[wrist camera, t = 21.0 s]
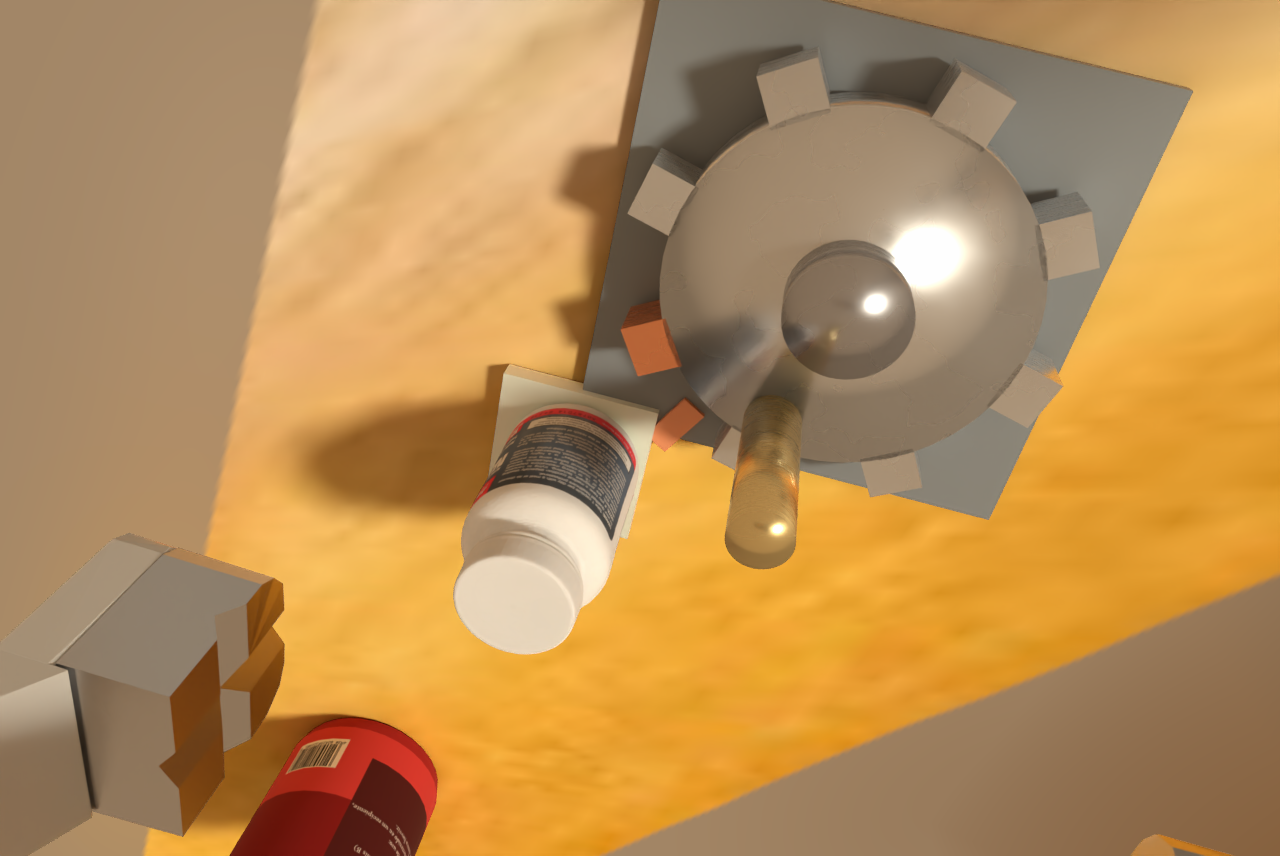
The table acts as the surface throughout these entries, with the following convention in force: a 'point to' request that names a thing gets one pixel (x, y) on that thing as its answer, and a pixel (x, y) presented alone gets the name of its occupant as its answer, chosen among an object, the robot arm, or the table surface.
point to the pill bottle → (545, 528)
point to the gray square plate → (902, 66)
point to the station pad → (540, 389)
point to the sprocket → (851, 285)
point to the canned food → (346, 795)
